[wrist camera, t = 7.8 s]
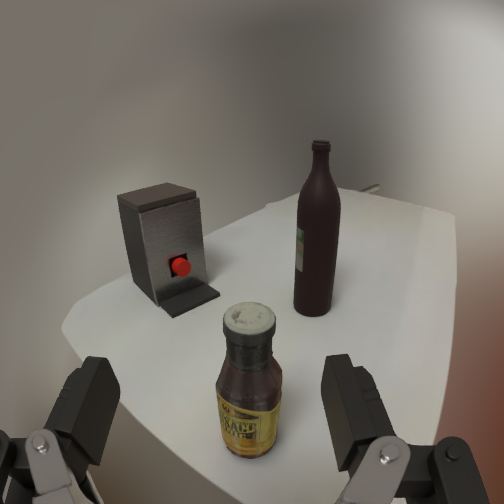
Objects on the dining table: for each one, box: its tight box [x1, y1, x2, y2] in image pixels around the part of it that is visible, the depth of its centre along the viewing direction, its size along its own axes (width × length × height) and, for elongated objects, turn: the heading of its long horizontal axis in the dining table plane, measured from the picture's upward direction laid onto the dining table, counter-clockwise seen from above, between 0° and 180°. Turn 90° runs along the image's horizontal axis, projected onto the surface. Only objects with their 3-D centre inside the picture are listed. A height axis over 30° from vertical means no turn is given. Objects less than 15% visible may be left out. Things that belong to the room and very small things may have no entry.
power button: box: [172, 257, 191, 277], centre depth 58 cm, size 2×3×3 cm, turn 132°
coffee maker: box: [117, 183, 220, 318], centre depth 60 cm, size 18×12×20 cm, turn 42°
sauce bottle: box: [216, 302, 282, 458], centre depth 28 cm, size 6×6×20 cm
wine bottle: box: [293, 140, 341, 316], centre depth 51 cm, size 7×7×30 cm
